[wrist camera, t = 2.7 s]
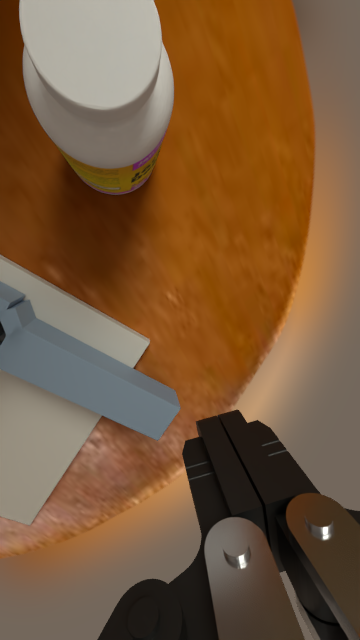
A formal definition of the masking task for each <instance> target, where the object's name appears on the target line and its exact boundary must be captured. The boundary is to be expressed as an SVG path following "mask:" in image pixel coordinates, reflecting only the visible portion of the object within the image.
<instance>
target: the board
mask: <svg viewBox="0 0 360 640" xmlns="http://www.w3.org/2000/svg"><path fill="white" fill-rule="evenodd" d="M0 281H1V282H3V283H4V284H6V285H8V286H10V287H12V288H14V289H16V290H17V291H19V292H21V293H23V294H25V296H24V298H23V300H22V301H25V300H29V299H30V302H31V305H32V308H33V311H34V313H35V316H36V318H37V319H39V320H41V321H43V322H45V323H47V324H49V325H51V326H53V327H55V328H57V329H58V330H60V331H62V332H64V333H66V334H68V335H70V336H72V337H74V338H76V339H78V340H79V341H81V342H83V343H85V344H87V345H89V346H91V347H93V348H95V349H97V350H99V351H101V352H102V353H104V354H106V355H108V356H110V357H112V358H114V359H116V360H118V361H120V362H122V363H123V364H125V365H127V366H129V367H131V368H134V366H135V365H136V363H137V362H138V360H139V359H140V357H141V356H142V354H143V352H144V351H145V349H146V348H147V346H148V345H149V343H150V341H149V339H148V338H146V337H145V336H143V335H141V334H139V333H138V332H136V331H134V330H132V329H131V328H129V327H127V326H125V325H123V324H122V323H120V322H118V321H116V320H115V319H113V318H111V317H109V316H108V315H106V314H104V313H102V312H101V311H99V310H97V309H95V308H94V307H92V306H90V305H88V304H86V303H85V302H83V301H81V300H79V299H78V298H76V297H74V296H72V295H71V294H69V293H67V292H65V291H64V290H62V289H60V288H58V287H57V286H55V285H53V284H51V283H49V282H48V281H46V280H44V279H42V278H41V277H39V276H37V275H35V274H34V273H32V272H30V271H28V270H27V269H25V268H23V267H21V266H20V265H18V264H16V263H14V262H12V261H11V260H9V259H7V258H5V257H4V256H2V255H0ZM5 337H6V334H5V333H4V334H2V335H1V336H0V342H2V341H3V340H4V339H5ZM101 416H102V415H100V414H98V413H96V412H93V411H91V410H89V409H87V408H85V407H82V406H80V405H78V404H76V403H74V402H71V401H69V400H67V399H65V398H63V397H60V396H58V395H56V394H54V393H52V392H49V391H47V390H45V389H43V388H41V387H38V386H36V385H34V384H32V383H30V382H27V381H25V380H23V379H21V378H19V377H16V376H14V375H12V374H10V373H8V372H5V371H3V370H1V369H0V517H4V518H7V519H10V520H13V521H17V522H20V523H23V524H26V525H30V524H31V523H32V521H33V520H34V518H35V517H36V515H37V514H38V512H39V511H40V509H41V508H42V506H43V505H44V503H45V502H46V500H47V498H48V497H49V495H50V494H51V492H52V491H53V489H54V488H55V486H56V485H57V483H58V482H59V480H60V479H61V477H62V476H63V474H64V473H65V471H66V470H67V468H68V467H69V465H70V463H71V462H72V460H73V459H74V457H75V456H76V454H77V453H78V451H79V450H80V448H81V447H82V445H83V444H84V442H85V441H86V439H87V438H88V436H89V435H90V433H91V432H92V430H93V429H94V427H95V425H96V424H97V422H98V421H99V419H100V418H101Z"/></svg>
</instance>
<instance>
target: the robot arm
mask: <svg viewBox="0 0 360 640" xmlns="http://www.w3.org/2000/svg"><path fill="white" fill-rule="evenodd" d="M196 425H197V430H198V435H199V437H197V438H194V439H190V440H187V441H185V445H184V449H183V453H182V455H183V459H184V464H185V468H186V472H187V476H188V480H189V485H190V489H191V493H192V497H193V501H194V505H195V509H196V513H197V517H198V521H199V525H200V530H201V533H202V538H201V545H200V549H199V551H198V554H197V556H196V558H195V559H194V561H193V563H192V564H191V565H190V566H189V568H187V569H186V570H185V571H184V572H183V573H181V574H180V575H179V576H178V577H176V578H175V579H174V580H173V581H171V582H170V583H169V584H167V583H166V582H164V581H161V580H158V579H147V580H143V581H141V582H139V583H137V584H135V585H134V586H132V587H131V588H130V589H129V590H128V591H127V592H126V593H125V594H124V595H123V596H122V598H121V599H120V601H119V602H118V604H117V606H116V607H115V609H114V611H113V613H112V615H111V616H110V618H109V620H108V622H107V623H106V625H105V627H104V629H103V631H102V633H101V634H100V636H99V638H98V640H305V639H304V636H303V633H302V631H301V628H300V625H299V623H298V620H297V618H296V615H295V612H294V610H293V607H292V604H291V602H290V599H289V596H288V594H287V591H286V589H285V586H284V583H283V581H282V578H281V576H280V572H283V571H286V573H287V575H288V577H289V579H290V581H291V583H292V585H293V588H294V593H295V600H296V604H297V607H298V609H299V612H300V614H301V616H302V618H303V620H304V622H305V623H306V625H307V627H308V629H309V631H310V633H311V635H312V637H313V639H314V640H360V511H354V510H349V509H346V508H344V507H343V506H341V505H340V504H339V503H338V502H336V501H335V500H333V499H332V498H330V497H327V496H325V495H322V494H320V492H319V491H318V490H317V489H316V488H315V486H314V485H313V484H312V482H311V481H310V480H309V478H308V477H307V476H306V474H305V473H304V472H303V470H302V469H301V468H300V467H299V465H298V464H297V463H296V461H295V460H294V459H293V457H292V456H291V455H290V453H289V452H288V451H287V450H286V448H285V447H284V445H283V444H282V443H281V442H280V441H279V439H278V437H277V436H276V435H275V433H274V432H273V431H272V430H271V428H270V427H268V426H266V425H265V424H263V423H261V422H259V421H258V420H257V421H253V422H250V423H247V422H246V420H245V419H244V417H243V416H242V414H241V413H240V411H239V410H234V411H231V412H227V413H224V414H220V415H218V417H217V416H213V417H210V418H206V419H202V420H199V421H196Z"/></svg>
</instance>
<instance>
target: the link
mask: <svg viewBox="0 0 360 640" xmlns="http://www.w3.org/2000/svg"><path fill="white" fill-rule="evenodd" d="M24 296H25V294H23V293H21V292H19V291H17V290H16V289H14V288H12V287H10V286H8V285H6V284H4V283H3V282H1V281H0V321H1V324H2V326H3V329H4V331H5V334H6V337H5V339H4V340H3V341H2V342H0V369H1V370H3V371H5V372H8V373H10V374H12V375H14V376H16V377H19V378H21V379H23V380H25V381H27V382H30V383H32V384H34V385H36V386H38V387H41V388H43V389H45V390H47V391H49V392H52V393H54V394H56V395H58V396H60V397H63V398H65V399H67V400H69V401H71V402H74V403H76V404H78V405H80V406H82V407H85V408H87V409H89V410H91V411H93V412H96V413H98V414H100V415H102V416H104V417H107V418H109V419H111V420H113V421H115V422H118V423H120V424H122V425H124V426H126V427H129V428H131V429H133V430H135V431H137V432H140V433H142V434H144V435H146V436H148V437H151V438H153V439H155V440H157V441H158V440H159V439H160V437H161V436H162V434H163V433H164V431H165V430H166V429H167V427H168V426H169V424H170V423H171V421H172V420H173V419H174V417H175V416H176V414H177V413H178V411H179V410H180V409H181V408H180V405H179V401H178V398H177V395H176V392H175V390H173V389H171V388H169V387H167V386H165V385H164V384H162V383H160V382H158V381H156V380H154V379H152V378H150V377H148V376H146V375H144V374H143V373H141V372H139V371H137V370H135V369H133V368H131V367H129V366H127V365H125V364H123V363H122V362H120V361H118V360H116V359H114V358H112V357H110V356H108V355H106V354H104V353H102V352H101V351H99V350H97V349H95V348H93V347H91V346H89V345H87V344H85V343H83V342H81V341H79V340H78V339H76V338H74V337H72V336H70V335H68V334H66V333H64V332H62V331H60V330H58V329H57V328H55V327H53V326H51V325H49V324H47V323H45V322H43V321H41V320H39V319H37V318H36V316H35V313H34V311H33V308H32V305H31V302H30V299H29V300H25V301H22V300H23V298H24Z"/></svg>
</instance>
